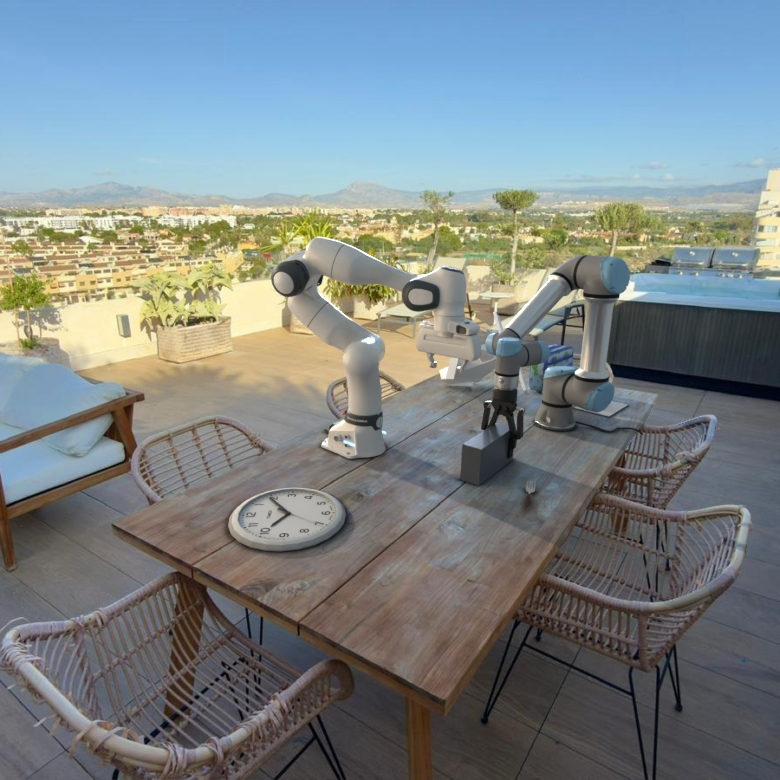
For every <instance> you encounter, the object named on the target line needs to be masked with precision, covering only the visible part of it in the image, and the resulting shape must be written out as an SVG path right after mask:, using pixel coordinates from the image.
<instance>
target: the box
mask: <svg viewBox="0 0 780 780" xmlns="http://www.w3.org/2000/svg"><path fill="white" fill-rule="evenodd" d="M510 438H511V435H510V430H509V426H508V423H504V422H500V421H496V423H495V424H494V425H493V426H491V427H489V428H487V429H486V430H482V431H481V432H479V433H477V434H476V435H475V436H473V437H471V438H470V439H468V440H466V441H465V442H463V443H462V445H461V461H460V474H459V475H460V476H459V480H460V481H463V482H466V483H469V484H471V485H472V484H473V485H476V486H478V487H479V486H481V484H482V485H483V484H484V482H486V481H487V480H488V479H489V478H491V477H492V476H493V475H494V474H496V473H497V472H498V471H499V470H501V469H502V468H504V467H505V466H506V465H507V464H509V463H510V462H511V461H513V459H514V455H513V456H512V457H511V458H507V454H508V443H509V439H510ZM514 450H515V449H513V451H514Z"/></svg>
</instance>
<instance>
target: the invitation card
mask: <svg viewBox="0 0 780 780" xmlns="http://www.w3.org/2000/svg"><path fill="white" fill-rule="evenodd" d="M628 406H629V404H627V403H623V402H618V401H614V400H612V401H611V403H610V404H609V405H608V407H607V408H606V409H604V410H603V411H601V412H592V411H587V410H585V409H582V408H580V407H577V406H574V407H573V409H575V410H581V411H584V412H587V413H593V414H596V415H600V416H604V417H608V418H609V417H611V416H613V415H614V414H616V413H617V412H619V411H621V410H623V409H624V408H626V407H628Z"/></svg>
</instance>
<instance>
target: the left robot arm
mask: <svg viewBox="0 0 780 780" xmlns="http://www.w3.org/2000/svg"><path fill="white" fill-rule="evenodd" d="M305 247H306V248H302V249H300V250H299V251H296V252H294V253H292V254H290V255H289V256H288V257H287V258H285V259H284V260H283V261H282V262H279V263H278V264H277V265H276V266H275V267H274V269H273V270H272V272H271V275H270V280H271V281H270V282H271V285H272V287H273V289H274V290H275V291H276V292H277V294H279V295H280V296H283V297H286V298H287V304H286V305H287V307H288V309H289V310H290V312H291V313H292V315H293V316H294V317H295V318H296V319H297V320H298V322H300V323H301V324H302V325H303V326H305V328H307V329H308V330H309V331H310V332H312V333H313V334H314V335H315V336H316V337H317V338H318V339H320V340H321V341H323V343H325V345H329V346H331V347H333V348H335V349H338V350H339V351H341V352H343V356H342V365H343V368H344V372H345V377H346V378H345V379H346V382H347V383H346V384H347V392H348V393H347V398H348V399H347V400H348V408H346V409H345V410H344V411H342V412H341V416H344V418H343V419H342V420H338V421H335V422H332V423H331V424H330V425H329V427H328V429H326V428H325V429H324V430H323V431H324V432H325V433H326V434H328V436H327V437H326V438H325V439H324V440H323V441H322V442H321V446H320V447H321V448H323V449H325V450H327V451H329V452H332V453H335V454H337V455H339V456H342V457H344V458H346V459H349V460H354V459H359V458H361V459H362V458H371V457H372V458H373V457H377V456H380V455H382V454H383V453H385V452H386V450H387V447H386V445H385V441H384V436H383V435H387V432H386V431H385V430H383V423H384V418H383V417H384V413H383V408H382V402H383V401H382V397H383V395H382V393H383V392H382V390H383V389H382V385H381V384H382V383H381V380H380V369H379V368H380V364H381V362H382V361H383V359H384V357H385V354H386V344H385V342H384V340H383V338H382V337H381V336H380V335H379V334H377V333H374V332H372V331H370V330H369V329H368V328H366V327H364V326H363V325H361V324H359V323H358V322H356V321H354V320H353V319H351V318H350V317H348V316H347V315H346V314H345V313H344V312H342V311H341V310H340V309H339V308H338V307H336V306H335V305H334V304H333V303H331V302H330V301H329V300H328V299H327V298H325V296H323V295H322V293H320V291H319V289H318V287H319V286H321V285H322V284H323V281H324V277H326V278H329V279H331V280H334V281H336V282H339V283H342V284H345V285H351V286H366V285H379V286H384V287H387V288H390V289H392V290H396V291H398V292H400V293H401V300H402V303H403V305H404V306H405V307H406V308H407V309H408V310H410V311H412V312H416V313H421V312H425V311H426V312H427V311H433V321H427V320H423V321H421V322H420V323H419V324H418V329H417V330H418V331H417V332H418V333H417V338H416V349H417V351H418V352H421V353H426V358H427V360H428V362H429V368H430V369H436V368H437V367H438V361H435V358H434V356H435V355H437V356H443V357H447V358H448V357H449V358H450V357H453V358H459V359H461V363H462V365H461V366H460V367H457V373H460V374H463V373H464V367H465V366H466V365H467V363H468V360H470V361H475V360H477V359H479V357H480V356H481V345H482V339H481V336H480V334H479V332H480V331H481V326H480V325H479V324H477V323H475V322H473V321H472V320H469V319H468V318H466V311H465V303H466V300H467V277H466V274H465V272H464V271H463V270H462V269H460V268H457V267H453V266H447V265H441V266H439V267H438V268H437V269H435V270H433V271H432V272H429V273H424V274H423V273H422V274H415V273H412V272H409V271H406V270H404V269H401V268H399V267H395V266H393V265H390V264H387V263H385V262H383V261H381V260H379V259H378V258H375V257H374V256H371V254H370V255H369V254H368V253H366V252H364V251H362V250H361V249H358V248H356V247H354V246H353V245H350V244H347V243H345V242H342V241H340V240H336V239H331V238H327V237H322V236H316V237H314V238H311V240H310V241H309V242H308V243H307V245H306V246H305Z"/></svg>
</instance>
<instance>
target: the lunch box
mask: <svg viewBox="0 0 780 780" xmlns="http://www.w3.org/2000/svg"><path fill="white" fill-rule="evenodd" d="M548 347H549V350H550V355H549V358H548V360H547V361H546V362H544V363H542V364H538V365H532V366H529V377H528V379H529V380H528V387H529V390H531V391H536V392H541V393H542V391H543V380H544V379H543V378H544V375H545V370H546V369H547V368H549V367H555V366H570V367H573V363H574V347H572V346H568V345H562V344H551V345H548Z"/></svg>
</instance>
